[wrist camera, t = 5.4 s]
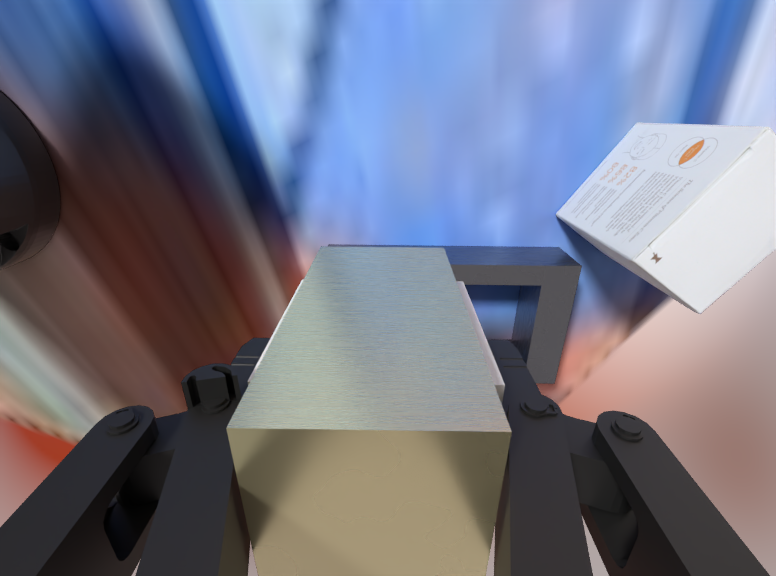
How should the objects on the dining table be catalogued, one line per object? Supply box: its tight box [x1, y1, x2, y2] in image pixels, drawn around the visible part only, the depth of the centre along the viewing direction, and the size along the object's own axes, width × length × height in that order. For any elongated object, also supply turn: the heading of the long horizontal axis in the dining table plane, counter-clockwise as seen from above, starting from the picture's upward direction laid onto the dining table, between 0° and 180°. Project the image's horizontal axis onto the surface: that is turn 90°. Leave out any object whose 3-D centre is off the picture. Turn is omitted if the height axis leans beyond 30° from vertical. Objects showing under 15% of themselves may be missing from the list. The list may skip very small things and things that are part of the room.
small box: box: [556, 123, 776, 314], centre depth 24 cm, size 8×6×10 cm
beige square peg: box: [226, 246, 512, 576], centre depth 12 cm, size 5×5×10 cm
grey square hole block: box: [328, 245, 582, 384], centre depth 31 cm, size 18×10×4 cm, turn 89°
